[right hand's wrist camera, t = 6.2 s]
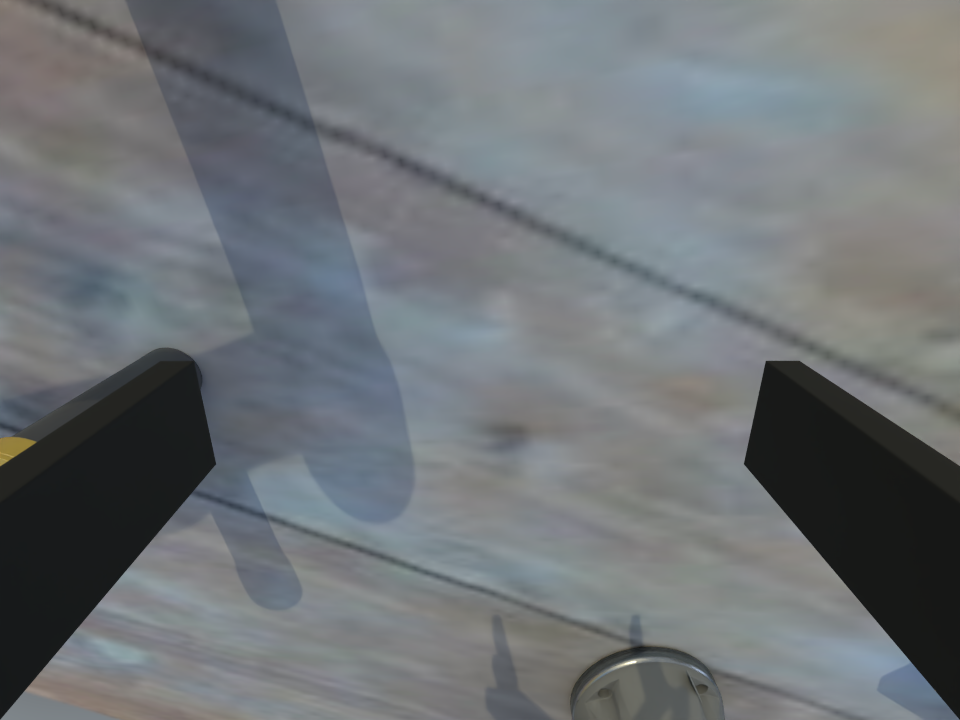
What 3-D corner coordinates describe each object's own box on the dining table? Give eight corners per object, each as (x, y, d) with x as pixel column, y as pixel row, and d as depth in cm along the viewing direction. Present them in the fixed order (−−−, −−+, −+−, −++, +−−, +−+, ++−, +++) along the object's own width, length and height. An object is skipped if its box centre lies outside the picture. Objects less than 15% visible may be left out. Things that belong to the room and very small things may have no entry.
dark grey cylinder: (175, 412, 44) (18, 546, 29) (129, 370, 42) (-61, 489, 27) (214, 380, 42) (71, 502, 28) (168, 336, 41) (-8, 440, 26)
